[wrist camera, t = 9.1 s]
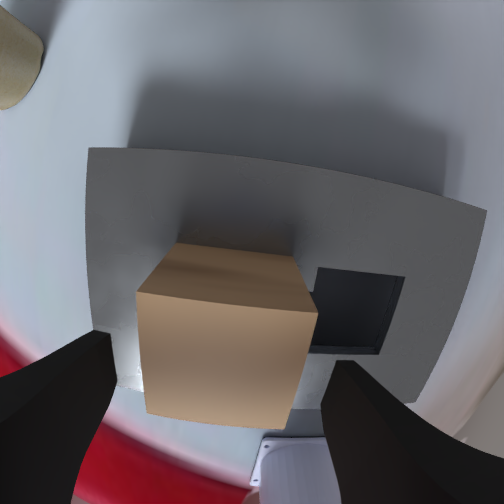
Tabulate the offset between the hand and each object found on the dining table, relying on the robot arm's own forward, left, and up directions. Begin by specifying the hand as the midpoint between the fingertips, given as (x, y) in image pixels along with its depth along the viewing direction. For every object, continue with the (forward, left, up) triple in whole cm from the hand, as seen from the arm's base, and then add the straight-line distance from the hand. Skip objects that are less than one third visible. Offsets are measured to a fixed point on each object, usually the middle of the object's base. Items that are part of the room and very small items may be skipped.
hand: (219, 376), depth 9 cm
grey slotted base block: (0, -3, -9) cm, 10 cm away
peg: (0, 0, -7) cm, 7 cm away
